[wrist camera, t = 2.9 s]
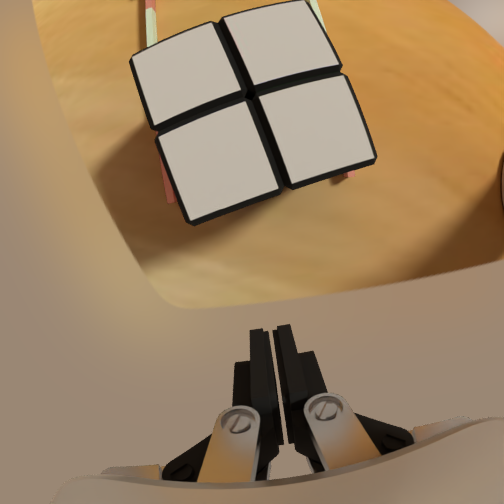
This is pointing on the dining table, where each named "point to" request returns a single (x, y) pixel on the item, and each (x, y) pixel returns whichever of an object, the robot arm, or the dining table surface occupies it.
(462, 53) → the dining table surface
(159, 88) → the puzzle cube
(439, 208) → the dining table surface
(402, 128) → the dining table surface
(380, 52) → the dining table surface
